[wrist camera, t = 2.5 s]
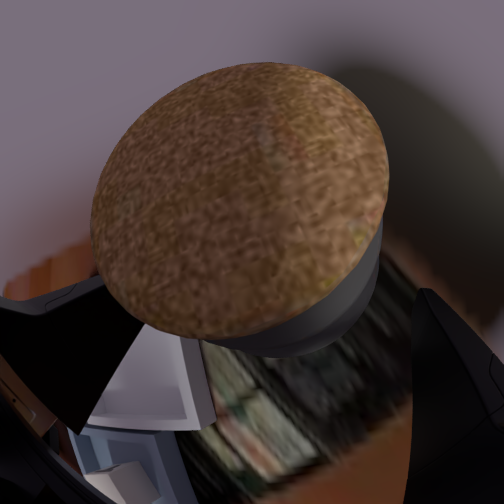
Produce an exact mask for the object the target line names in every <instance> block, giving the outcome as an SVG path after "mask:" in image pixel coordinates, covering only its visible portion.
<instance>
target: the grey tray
mask: <svg viewBox="0 0 504 504" xmlns="http://www.w3.org/2000/svg"><path fill="white" fill-rule="evenodd" d="M216 420H217V418H216V415H215V411H214V407H213V403H212V399H211V395H210V391H209V387H208V383H207V379H206V374H205V370H204V365H203V361H202V356H201V352H200V347H199V342H198V339H188V338H183V337H179V336H176V335H172V334H169V333H165V332H162V331H159V330H156V329H154V328H153V327H151V326H149V325H147V324H145V325H144V326H143V328H142V329H141V331H140V333H139V334H138V336H137V337H136V339H135V341H134V342H133V344H132V345H131V347H130V349H129V350H128V352H127V353H126V355H125V357H124V358H123V360H122V362H121V363H120V365H119V366H118V368H117V370H116V371H115V373H114V375H113V376H112V378H111V380H110V382H109V383H108V385H107V387H106V388H105V390H104V392H103V394H102V396H101V397H100V399H99V401H98V403H97V404H96V406H95V408H94V410H93V412H92V413H91V415H90V417H89V419H88V424H92V425H99V426H107V427H116V428H127V429H141V430H202V429H203V428H205V427H207V426H208V425H210V424H212V423H213V422H215V421H216Z"/></svg>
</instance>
